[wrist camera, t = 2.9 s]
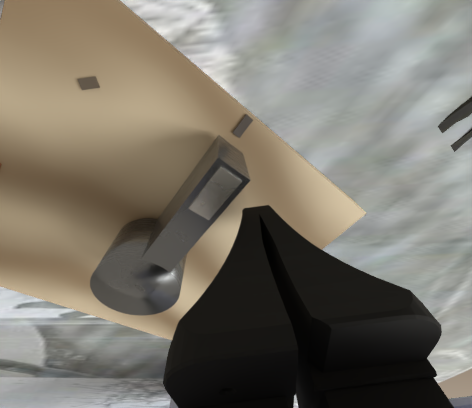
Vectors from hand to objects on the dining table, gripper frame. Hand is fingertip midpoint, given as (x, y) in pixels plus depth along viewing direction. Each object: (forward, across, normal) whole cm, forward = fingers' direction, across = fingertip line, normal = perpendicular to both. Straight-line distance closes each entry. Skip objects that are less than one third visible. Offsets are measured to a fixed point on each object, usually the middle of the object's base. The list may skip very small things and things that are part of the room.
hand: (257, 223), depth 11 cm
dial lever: (+1, +4, 0) cm, 4 cm away
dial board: (+3, +6, +2) cm, 7 cm away
